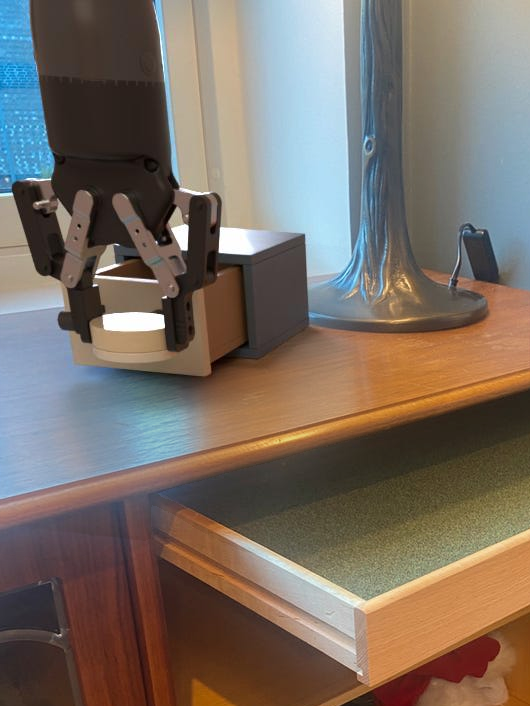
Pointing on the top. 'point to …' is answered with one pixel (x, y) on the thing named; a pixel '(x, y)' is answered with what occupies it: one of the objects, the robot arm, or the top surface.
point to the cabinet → (260, 282)
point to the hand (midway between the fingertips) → (135, 344)
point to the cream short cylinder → (130, 338)
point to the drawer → (145, 297)
